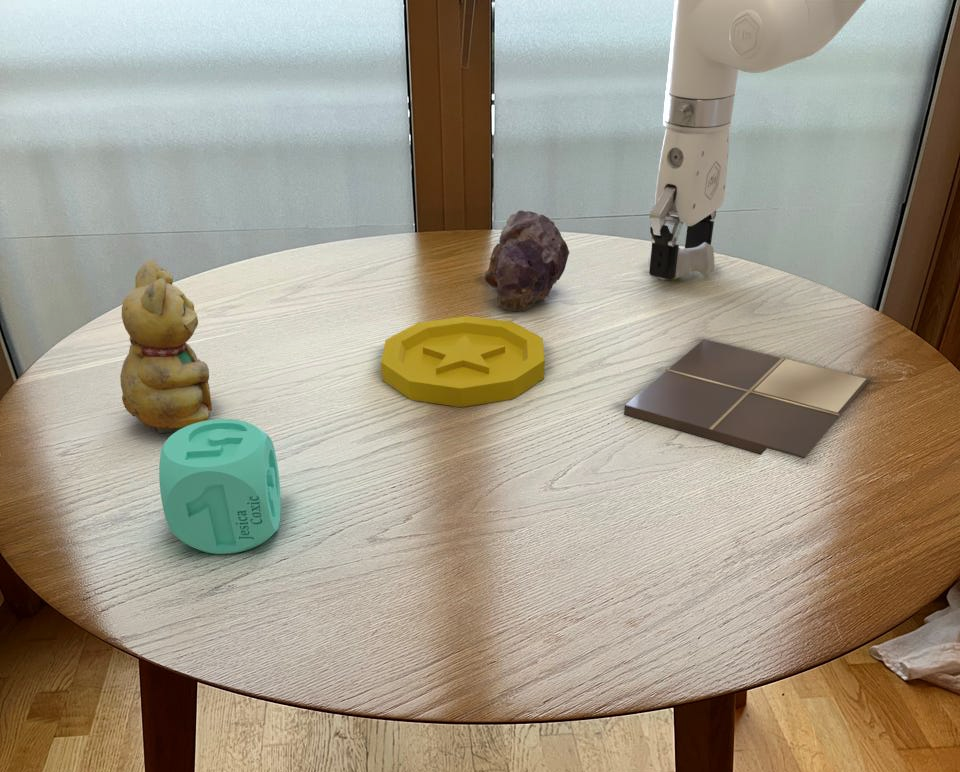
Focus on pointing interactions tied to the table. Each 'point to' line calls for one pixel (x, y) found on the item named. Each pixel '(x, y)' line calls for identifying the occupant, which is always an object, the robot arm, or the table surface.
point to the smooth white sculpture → (693, 260)
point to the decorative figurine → (162, 355)
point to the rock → (526, 260)
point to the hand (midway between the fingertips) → (679, 264)
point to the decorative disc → (463, 361)
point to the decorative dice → (220, 486)
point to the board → (747, 399)
